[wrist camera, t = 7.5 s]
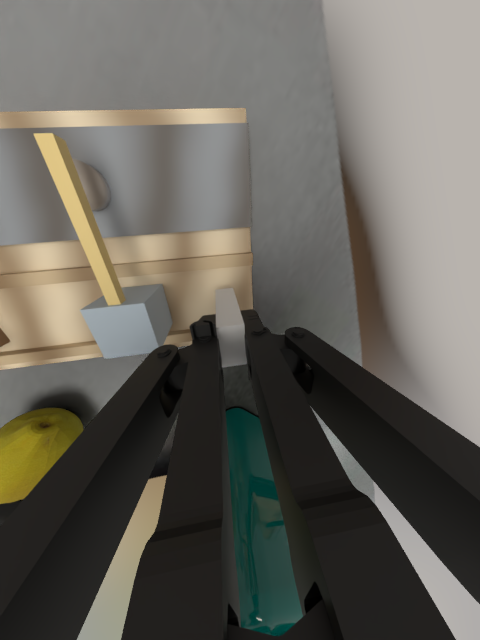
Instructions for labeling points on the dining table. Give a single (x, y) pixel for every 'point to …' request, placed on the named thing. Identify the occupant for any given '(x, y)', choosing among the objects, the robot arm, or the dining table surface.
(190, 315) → the gauge board
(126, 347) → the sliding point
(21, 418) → the lemon
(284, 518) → the robot arm
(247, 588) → the pitcher
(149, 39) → the dining table surface
